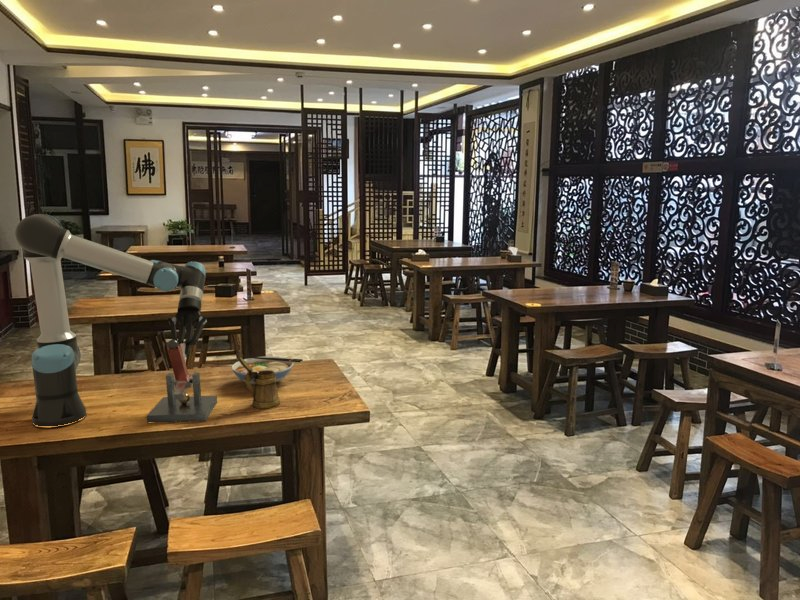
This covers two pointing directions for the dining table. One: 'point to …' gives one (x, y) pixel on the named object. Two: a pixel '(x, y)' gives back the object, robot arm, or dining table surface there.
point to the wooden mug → (261, 387)
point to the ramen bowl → (265, 366)
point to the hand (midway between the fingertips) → (181, 362)
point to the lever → (179, 369)
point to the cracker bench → (182, 404)
